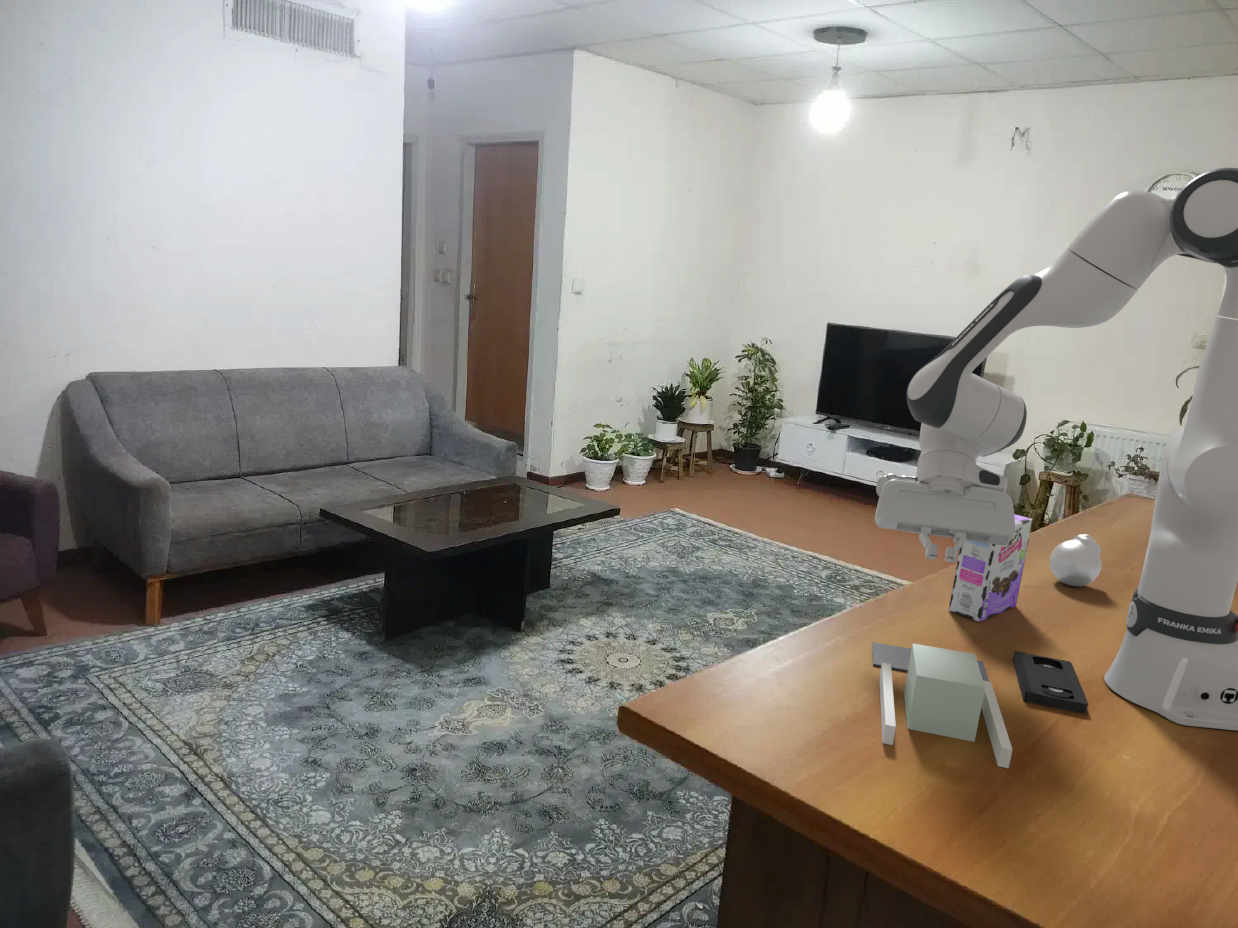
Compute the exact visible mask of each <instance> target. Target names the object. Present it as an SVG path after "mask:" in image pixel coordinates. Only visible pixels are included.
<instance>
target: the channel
mask: <svg viewBox="0 0 1238 928" xmlns="http://www.w3.org/2000/svg"><path fill="white" fill-rule="evenodd" d="M871 645H872V666H873V667H879V668H880V672H879V673H880V674H879V697H880V699H879V700H880V718H881V720H880V721H881V723H880V724H881V739H882V741H881V742H882V744H884V745H890V746H893V745H894V739H895V733H896V729H897V724H896V712H895V711H896V710H895V699H894V698H895V697H894V686H893V675H892V674H893V673H892V672H893V671H892V670H895V671H901V672H905V671H906V672H905V673H907V672H908V666H909V661H910V655H911V649H912V648H910V647H904V646H897V645H894V644H893V645H891V644H887V643H880V642H874V641H872V643H871ZM977 662H978V666H979V669H980V672H981V676H982V679H983V683H984V686H985V690H984V695H983V701H982V706H981V711H982V714H983V717H984V722H985V725H986V729H987V732H988V733H987V734H988V736H989V740H990V743H991V747H992V751H993V753H994V754H993V755H994V757H995V761H996V765H997V767H999V768H1005V769H1009V768H1010V764H1011V758H1012V753H1013V746H1012V743H1011V741H1010V737H1009V734H1008V731H1007V728H1006V725H1005V722H1004V718H1003V715H1002V712H1001V710H1000V706H999V703H998V702H999V701H998V700H997V696H996V694H995V690H994V687H993V683H992V682H991V681H990V679H989V676H988V672H987V670H986V669H987V668H986V666H985V664H984V661H983V660H978V659H977Z"/></svg>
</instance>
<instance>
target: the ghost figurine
mask: <svg viewBox="0 0 1238 928" xmlns="http://www.w3.org/2000/svg"><path fill="white" fill-rule="evenodd" d="M1101 551H1102V547H1101V546H1100V545H1099V544H1098V543H1097V541H1096V540H1095V539H1094V537H1092V536H1091V535H1090V534H1088V533H1087V534H1086V533H1085V534H1083V533H1082V534H1078V535H1076V536H1074V537H1073V538H1072V539H1069V540H1065V541H1063V542H1061V543H1059V544H1058V545H1057V546H1056V547H1054V549H1053V550H1052V551H1051V554H1050V557H1049V567H1050V570H1051V572H1052V574H1053V576H1054V577H1055V578H1056V579H1058V581H1060V582H1061V583H1063V584H1065V585H1068V586H1070V587H1082V586H1083V587H1084V586H1087V585H1089V584H1091V583H1093V582H1094V581H1095V580H1096V579H1097V578H1098V576H1099V575H1100V573H1101V570H1102V566H1103V565H1102V564H1103V563H1102V558H1101V556H1100V553H1101Z"/></svg>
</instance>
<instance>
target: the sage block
mask: <svg viewBox="0 0 1238 928" xmlns="http://www.w3.org/2000/svg"><path fill="white" fill-rule="evenodd" d="M910 649H911V655H910V661H909V666H908V672H906V677H905V678H906V680H905V685H904V691H903V697H904V705H905V716H906V726H907V729H908V730H912V731H918V732H922V733H928V734H933V735H938V736H941V737H948V738H953V739H957V740H958V739H959V740H962V741H963V740H964V741H967V742H968V741H970V742H975V741H976V737H977V732H978V731H977V730H978V727H979V726H978V725H979V720H980V715H981V711H982V707H981V706H982V701H983V695H984V690H985V686H984V683H983V679H982V676H981V672H980V669H979V666H978V662H977V660H978V658H977V655H976V653H970V652H966V651H965V652H964V651H959V650H955V649H954V650H953V649H947V648H941V647H936V646H929V645H924V644H918V643H914V642H913V643H912V644H911V648H910Z"/></svg>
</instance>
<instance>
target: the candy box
mask: <svg viewBox="0 0 1238 928" xmlns="http://www.w3.org/2000/svg"><path fill="white" fill-rule="evenodd" d="M1014 516H1015V533H1014V536H1013V538H1012V540H1011V541H1010V542H1009V543H1008V544H1006V545H996V544H989V543H982V542H975V541H969V540H965V542H964V544H963V546H962V547H961V548H960V550H959V551H958V555H957V561H956V562H957V563H956V568H955V574H954V579H953V585H952V590H951V595H950V599H949V606H948V611H949V612H953V613H955V614H958V615H960V616H963V617H965V618H968V619H971V620H973V621H976V622H983V621H985V620H987V619H989V618H991V617H993V616H995V615H998V614H1001V613H1002V612H1005V611H1008V610H1010V609H1012V608H1014V607H1016V606H1017V604H1018V597H1019V592H1020V588H1021V587H1020V586H1021V581H1022V576H1023V572H1024V566H1025V562H1026V555H1027V551H1028V546H1029V540H1030V536H1031V530H1032V529H1031V528H1032V526H1033V525H1032V524H1033V518H1031V517H1030V518H1029V517H1026V516H1023V515H1019V514H1015V513H1014Z"/></svg>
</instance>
